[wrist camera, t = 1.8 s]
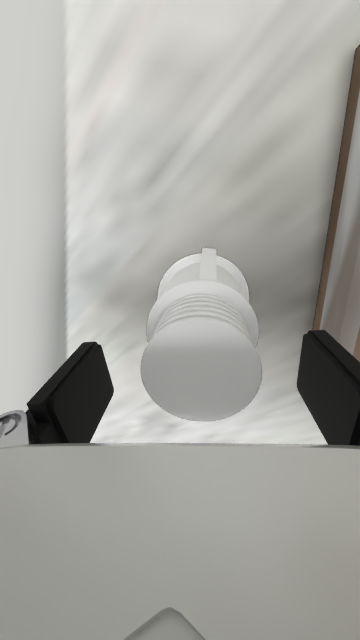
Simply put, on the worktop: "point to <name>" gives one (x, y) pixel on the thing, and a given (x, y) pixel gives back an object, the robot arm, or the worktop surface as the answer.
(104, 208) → the worktop surface
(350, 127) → the silver picture frame
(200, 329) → the downlight
